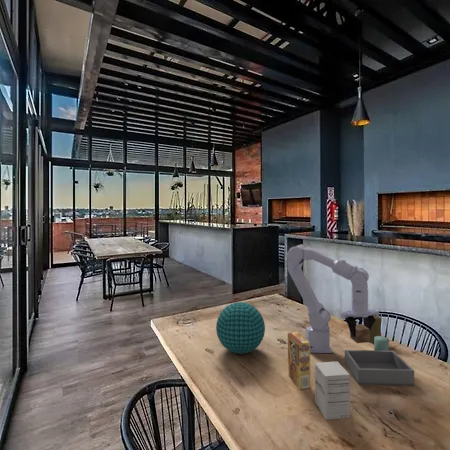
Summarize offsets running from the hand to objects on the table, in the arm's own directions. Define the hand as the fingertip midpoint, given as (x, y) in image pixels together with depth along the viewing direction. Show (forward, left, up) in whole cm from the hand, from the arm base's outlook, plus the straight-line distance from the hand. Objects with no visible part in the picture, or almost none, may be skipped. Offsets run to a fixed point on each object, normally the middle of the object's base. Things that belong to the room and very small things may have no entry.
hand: (359, 335), depth 114 cm
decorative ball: (-46, +4, -9) cm, 47 cm away
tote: (+2, -11, -9) cm, 14 cm away
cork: (+12, +15, -9) cm, 21 cm away
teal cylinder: (+9, +2, -9) cm, 13 cm away
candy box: (-26, -17, -9) cm, 32 cm away
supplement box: (-19, -31, -9) cm, 38 cm away
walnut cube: (0, 0, -2) cm, 2 cm away
